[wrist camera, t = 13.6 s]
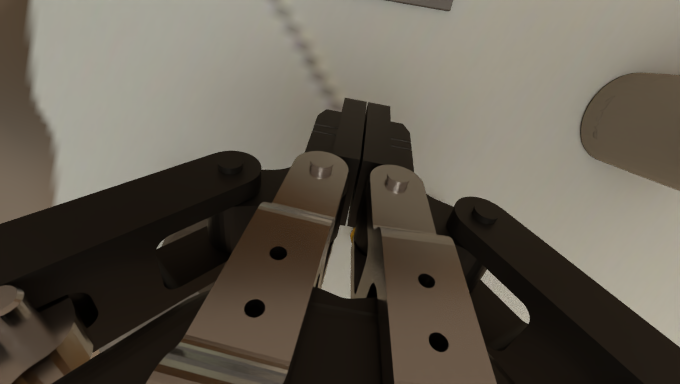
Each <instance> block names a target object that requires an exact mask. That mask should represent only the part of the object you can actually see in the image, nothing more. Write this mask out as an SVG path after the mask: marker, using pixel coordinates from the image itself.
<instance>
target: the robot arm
mask: <svg viewBox="0 0 680 384" xmlns="http://www.w3.org/2000/svg"><path fill="white" fill-rule="evenodd" d="M366 103H367V102H364V101H359V100H354V99H349V98H345V100H344V105H343V109H342V112H338V111H332V110H325V111H324V112H322V113H321V114H319V115H318V116H317V119H316V122H315V125H314V128H313V131H312V133H311V136H310V139H309V142H308V145H307V148H306V151H305V153H303V154H301V155H299V156H298V157H297V158H296V159H295V160H294V162H293V164H292V166H291V167H290V168H286V169H280V170H261V164H260V162H259V161H258V160H257V159H256V158H255V157H253V156H252V155H250V154H247V153H244V152H239V151H223V152H218V153H214V154H211V155H208V156H205V157H202V158H199V159H196V160H193V161H190V162H187V163H184V164H181V165H178V166H175V167H172V168H169V169H166V170H163V171H160V172H157V173H154V174H151V175H148V176H145V177H141V178H138V179H135V180H132V181H129V182H126V183H123V184H120V185H117V186H114V187H111V188H108V189H105V190H102V191H99V192H96V193H93V194H90V195H87V196H84V197H81V198H78V199H75V200H72V201H69V202H66V203H63V204H60V205H57V206H54V207H51V208H47V209H44V210H42V211H38V212H35V213H32V214H29V215H26V216H23V217H20V218H17V219H14V220H11V221H8V222H5V223H2V224H0V384H680V347H679V346H677V345H676V344H675V343H673V342H672V341H671V340H670V339H668V338H667V337H666V336H665V335H663V334H662V333H661V332H659V331H658V330H657V329H656V328H654V327H653V326H652V325H650V324H649V323H648V322H647V321H645V320H644V319H643V318H641V317H640V316H639V315H638V314H636V313H635V312H634V311H632V310H631V309H630V308H629V307H627V306H626V305H625V304H624V303H622V302H621V301H620V300H618V299H617V298H616V297H615V296H613V295H612V294H611V293H609V292H608V291H607V290H606V289H604V288H603V287H602V286H600V285H599V284H598V283H597V282H595V281H594V280H593V279H591V278H590V277H589V276H588V275H586V274H585V273H584V272H583V271H581V270H580V269H579V268H577V267H576V266H575V265H574V264H572V263H571V262H570V261H568V260H567V259H566V258H565V257H563V256H562V255H561V254H559V253H558V252H557V251H556V250H554V249H553V248H552V247H550V246H549V245H548V244H547V243H545V242H544V241H543V240H542V239H540V238H539V237H538V236H536V235H535V234H534V233H533V232H531V231H530V230H529V229H527V228H526V227H525V226H524V225H522V224H521V223H520V222H518V221H517V220H516V219H515V218H513V217H512V216H511V215H509V214H508V213H507V212H506V211H504V210H503V209H502V208H500V207H499V206H498V205H496V204H494V203H492V202H490V201H488V200H485V199H482V198H478V197H464V198H461V199H459V200H458V201H457V202H456V204H455V206H454V207H453V206H450V205H448V204H445V203H443V202H440V201H438V200H436V199H434V198H432V197H430V196H429V195H427V194H426V191H425V187H424V184H423V181H422V180H421V178H420V177H419V176H418V175H416V174H415V173H414V167H413V158H412V151H411V139H410V132H409V131H408V130H407V129H406V127H405V126H404V125H403V124H400V123H395V122H390V106H385V105H380V104H375V103H370V102H368V105H367V109H366ZM365 112H366V114H365ZM581 138H582V143H583V145H584V148H585V149H586V151H587V152H588V153H589V155H591V156H592V157H594V158H595V159H597V160H600V161H602V162H605V163H607V164H610V165H613V166H615V167H618V168H621V169H623V170H626V171H628V172H631V173H633V174H636V175H639V176H641V177H644V178H647V179H649V180H652V181H655V182H657V183H660V184H663V185H665V186H668V187H671V188H673V189H676V190H679V191H680V75H670V74H653V73H631V74H628V75H624V76H621V77H619V78H617V79H615V80H613V81H612V82H610V83H609V84H608V85H606V86H605V87H604V88H603V89H602V90H601V91H600V92H599V93H598V94H597V95H596V96H595V97H594V99H593V100H592V101H591V103H590V104H589V106H588V108H587V110H586V112H585V114H584V117H583V121H582V126H581ZM349 206H350V209H349ZM348 211H349V217H348V225H347V226H350V227H355V235H354V239H353V243H352V246H351V299H346V298H341V297H339V296H336V295H334V294H332V293H329V292H327V291H325V290H322V289H321V288H322V284H323V280H324V276H325V273H326V269H327V265H328V262H329V258H330V254H331V251H332V247H333V242H334V239H335V238H336V237H337V234H338V230H339V226H340V225H344V226H345V224H346V219H347V215H348ZM205 219H207V226H206V227H203V228H201V229H199V230H197V231H195V232H193V233H190V234H188V235H186V236H184V237H182V238H180V239H178V240H175V241H173V242H171V243H169V244H167V245H165V246H163V247H160V248H158V249H156V248H157V247H158V245H159V244H160V242H161V241H162V240H164V239H165V238H166V237H168V236H170V235H172V234H174V233H176V232H178V231H180V230H183V229H185V228H187V227H189V226H192V225H194V224H196V223H198V222H200V221H203V220H205ZM487 269H488V270H489V271H490V272H491V273H492V274H493V275H494V276H495V277H496V278H497V279H498V280H499V281H500V282H501V283H502V284H503V285H505V286H506V287H507V288H508V289H509V290H510V291H511V292H512V293H513V294H514V295H515V296H516V297H517V298H518V299H519V300H520V301H521V302H522V303H523V304H524V305H525V306H526V308H527V310H528V312H529V315H530V322H529V324H527V323H525V322H524V321H522V320H521V319H520V318H519V317H518V316H517V315H516V314H515V313H514V312H513V311H512V310H511V309H510V308H509V307H508V306H507V305H506V304H505V303H504V302H503V301H502V300H501V299H500V298H499V297H498V296H497V295H495V294H494V293H493V292H492V291H491V290H490V289H489V288H488V287H487V286H486V285H485V284H484V283H483V282H482V281H481V280H480V279H481V278H482V276H483V275H484V273H485V272H486V270H487ZM215 281H216V282H215ZM213 282H215V283H214V285H213V287H212V289H211V290H208V291H205V292H203V293H200V294H198V295H195V296H193V297H191V298H189V299H187V300H185V301H184V302H182V303H180V304H178V305H177V306H175V307H174V308H172V309H170V310H169V311H167V312H166V313H164V314H162V315H161V316H159V317H158V318H156V319H154V320H153V321H151V322H150V323H148V324H146V325H145V326H143V327H142V328H140V329H138V330H137V331H135V332H134V333H132V334H130V335H129V336H127V337H126V338H124V339H122V340H121V341H119V342H117V343H116V344H114V345H113V346H111V347H109V348H108V349H106V350H105V351H103V352H101V353H100V354H98V355H97V356H95V357H93V358H92V359H90V358H91V355H92V353H93V352H95V351H96V350H98V349H100V348H101V347H103V346H105V345H107V344H108V343H110V342H112V341H113V340H115V339H117V338H119V337H120V336H122V335H124V334H126V333H127V332H129V331H131V330H132V329H134V328H136V327H138V326H139V325H141V324H143V323H144V322H146V321H148V320H150V319H151V318H153V317H155V316H156V315H158V314H160V313H162V312H163V311H165V310H167V309H168V308H170V307H172V306H174V305H175V304H177V303H179V302H180V301H182V300H184V299H186V298H187V297H189V296H191V295H193V294H194V293H196V292H198V291H199V290H201V289H203V288H205V287H206V286H208V285H210V284H211V283H213Z"/></svg>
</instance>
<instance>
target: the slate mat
mask: <svg viewBox="0 0 680 384" xmlns="http://www.w3.org/2000/svg"><path fill="white" fill-rule="evenodd" d="M387 1H393V2H399V3H404V4H410V5H416V6H422V7H427V8H433V9H439V10H445V11H450V10H451V6H452V2H453V0H387Z"/></svg>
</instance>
